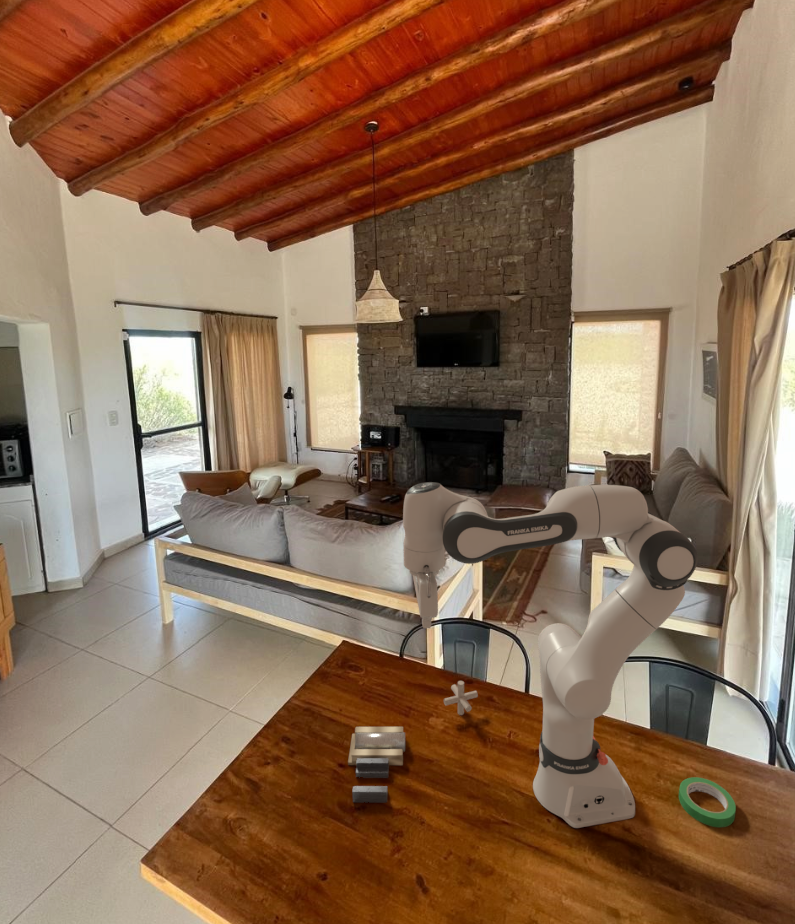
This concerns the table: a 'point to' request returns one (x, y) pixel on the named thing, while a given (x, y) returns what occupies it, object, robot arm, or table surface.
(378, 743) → the axle
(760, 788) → the table surface
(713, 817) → the tape roll
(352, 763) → the beige u-shaped bracket
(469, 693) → the pipe connector
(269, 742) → the table surface
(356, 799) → the dark blocks
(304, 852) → the table surface
